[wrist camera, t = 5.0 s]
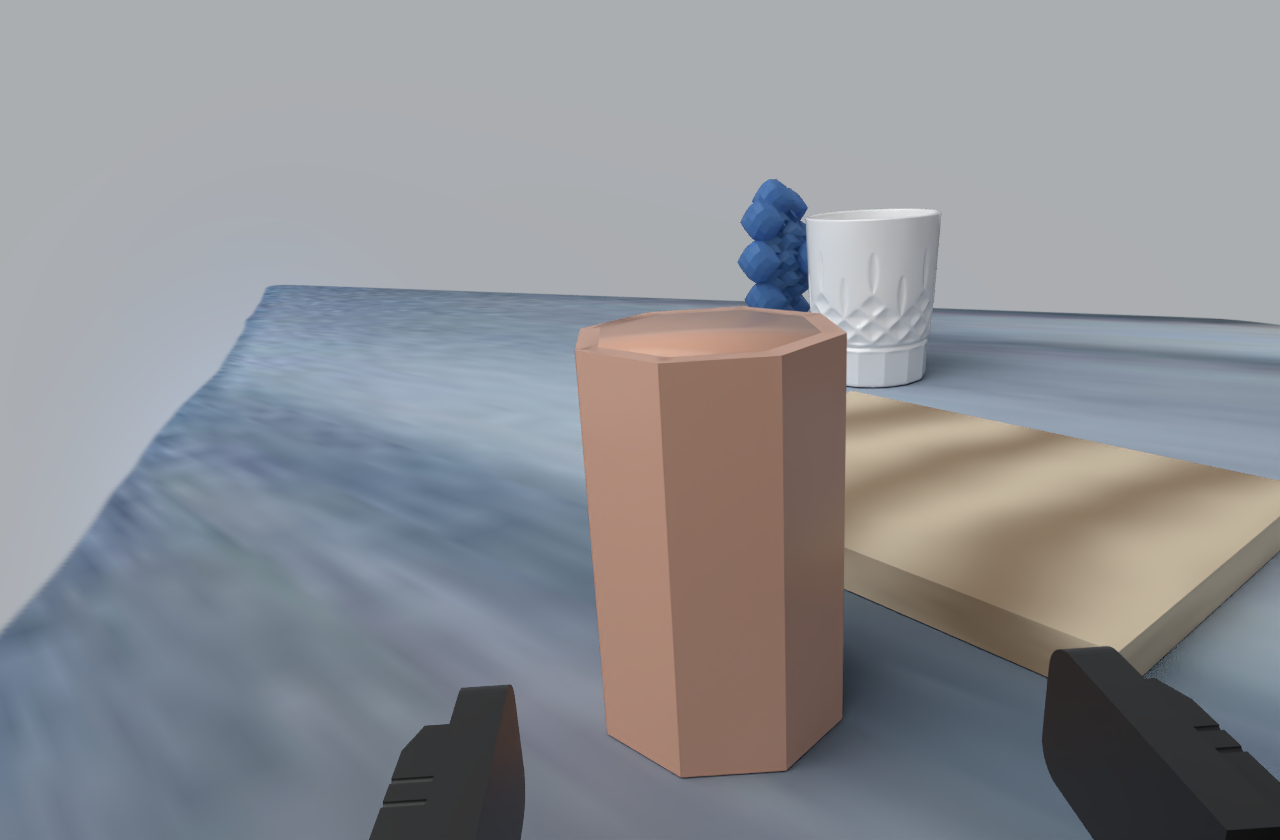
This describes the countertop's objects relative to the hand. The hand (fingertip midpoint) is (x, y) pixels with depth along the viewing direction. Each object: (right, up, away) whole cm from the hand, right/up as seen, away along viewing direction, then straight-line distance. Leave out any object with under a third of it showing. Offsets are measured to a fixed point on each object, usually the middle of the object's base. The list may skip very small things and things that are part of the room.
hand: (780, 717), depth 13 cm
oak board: (+10, +1, +21) cm, 23 cm away
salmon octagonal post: (0, -3, +10) cm, 11 cm away
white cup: (+13, +7, +41) cm, 44 cm away
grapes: (+10, +11, +54) cm, 56 cm away
